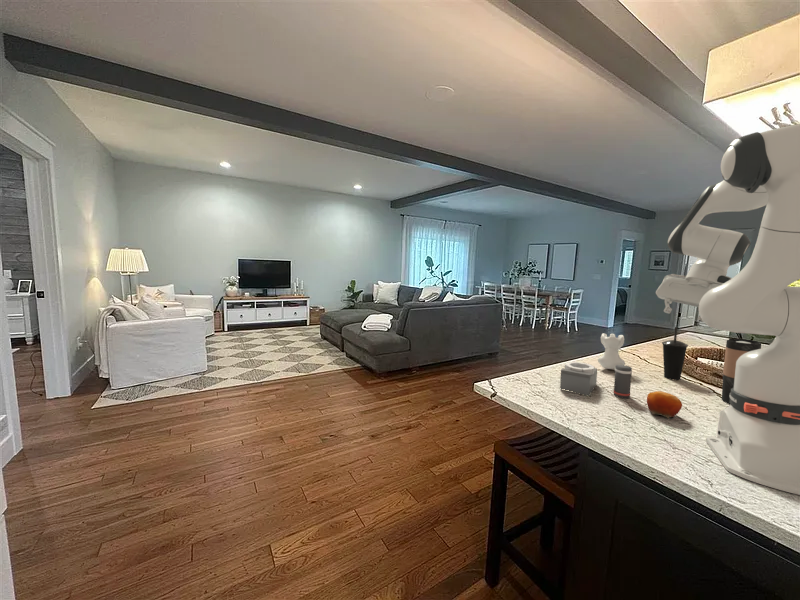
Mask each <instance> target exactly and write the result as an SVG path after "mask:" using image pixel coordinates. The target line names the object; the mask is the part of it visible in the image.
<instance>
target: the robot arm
mask: <svg viewBox="0 0 800 600" xmlns="http://www.w3.org/2000/svg"><path fill="white" fill-rule="evenodd" d="M720 172H721V176H722V179H723V180H722V181H720V182H718V183H716V184H711V185H709V186H707V188H705V189H704V190H703V191H702V193H701V194H700V195H699V197H698V198H697V199H696V200H695V201H694V203H693V205H692V206H691V208H690V209H689V210H688V212H687V213H686V214H685V216H684V217H683V218H682V220H681V222H680V223H679V224H678V225H677V226H676V227H675V228H674V229H673V231H672V232H671V233H670V235H669V236H668V239H667V247H668V248H669V250H670V251H671V253H672V254H676V255H680V256H689V257H692V258H693V257H694V258H696V259H695V262H694V263H693V264H692V265H691V266H690V268H689V271H688V272H687V274H686V275H682V274H676V273H671V274H667V275H665V276H664V277H663V280H662V282H661V284H660V285H659V286H658V288H657V289H656V290H655V295H656V296H657V298H658V299H661V300H664V305H665V307H664V309H663V312H664V313H666V314H668V315H669V314H671V313H672V311H673V308H672V307H670V304H672V303H678V304H683V305H687V306H691V307H696V308H698V313H699V316H698V317H697V321H698V322H701V323H704V324H706V325H707V326H708V327H709V328H712V329H716V330H721V331H726V332H729V333H736V334H748V335H761V336H762V335H763V336H775V338H774V340H773V341H772V342H771V343H770V344H768V345H767V346H764V347H761V349H757V350H753V351H749V352H747V353H745V354H743V355H741V356H740V357H739V358H738V360H737V361H736V369H735V379H734V388H732V389H731V393H730V395H729V397H730V401H729V403H730V404H728V406H727V407H725V408H723V409H721V410H719V414H718V419H717V420H718V421H717V429H716V434H715V435H707V436H706V437H705V442H706V443H707V445H708V446H709V447H710V449H711V451H713V453H714V454H715V456H716V457H717V459H718V460H719V461H720V463H721V464H722V465H723V467H724V468H725V470H726V471H727V472H729V473H731V474H733V475H735V476H738V477H741V478H743V479H745V480H748V481H751V482H753V483H757V484H760V485H762V486H764V487H765V486H766V487H769V488H772V489H776V490H778V491H779V490H780V491H782V492H787V493H790V494H794V495H798V496H800V286H790V285H791V284H793V283H795V282H796V281H798V280H800V123H797V124H791V125H787V126H782V127H779V128H774V129H770V130H766V131H763V132H758V131H757V132H752V133H749V134H746V135H743V136H739V137H738V138H736V139H734V140H733V141H731V142H730V144H729V145H728V146H727V147H726V149H725V151H724V153H723V156H722V158H721V161H720ZM762 207H765V209H764V211H763V216H762V219H761V223H760V226H759V227H760V228H759V230H758V234H757V235H758V236H757V237H756V238H757V239H756V242H755V246H754V248H753V251H752V254H751V256H750V258H749V260H748V262H747V263H746V264H745V266H744V267H743V268H742V269H741V270H740V271H739V272H738V273H737V274H736V275H734V276H733V277H730V276H727V274H728V269H729V267H732V266H734V265H736V264H738V263H741V262H742V260H743V258H744V254H745V253H746V251H747V250H748V249H749V248H750V246H751V243H752V242H751V241H750V238H749V237H748V236H747V234H746V233H742V232H740V231H735V230H731V229H725V228H717V227H712V226H707V225H703V224H700V222H701V221H702V220H703V219H704V217H706V216H708V215H710V214H714V213H725V212H726V213H727V212H729V213H730V212H732V213H733V212H747V211H748V212H749V211H753V210H758V209H760V208H762Z"/></svg>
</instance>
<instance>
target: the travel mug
mask: <svg viewBox="0 0 800 600" xmlns="http://www.w3.org/2000/svg"><path fill="white" fill-rule="evenodd" d="M761 348H762V342H761V341H757V340H752V339H745V338H728V339H726V344H725V353H724V361H723V371H722V386H721V400H723V401H722V402H724V403H726V402H727V403H726V404H728V403H729V401H730V397H729V395H730V393H731V389H732V388H734V379H735V369H736V361H737V360H738V358H739V357H740V356H741V355H743V354H745V353H747V352H749V351H753V350H757V349H761Z"/></svg>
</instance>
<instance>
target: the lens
mask: <svg viewBox="0 0 800 600" xmlns="http://www.w3.org/2000/svg"><path fill="white" fill-rule="evenodd" d="M632 373H633V369H632V367H631V366H628V365H626V364H625V365H616V366H615V370H614V383H613V384H614V385H613V387H614V388H613V396H614V397H616V398H620V399H625V400H626V399H627V400H628V399H630V398H631V385H632V384H631V383H632Z"/></svg>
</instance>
